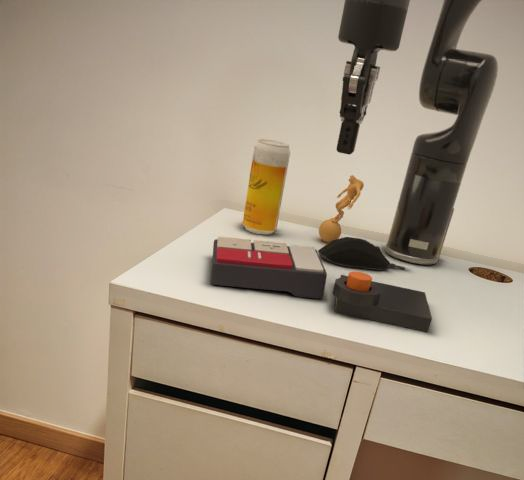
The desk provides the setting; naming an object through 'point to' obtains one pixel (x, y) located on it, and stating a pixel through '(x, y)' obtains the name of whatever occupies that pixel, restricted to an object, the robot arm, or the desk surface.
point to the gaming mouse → (355, 254)
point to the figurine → (340, 211)
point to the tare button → (359, 281)
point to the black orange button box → (384, 304)
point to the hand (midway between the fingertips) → (344, 152)
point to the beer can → (266, 186)
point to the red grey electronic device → (268, 266)
